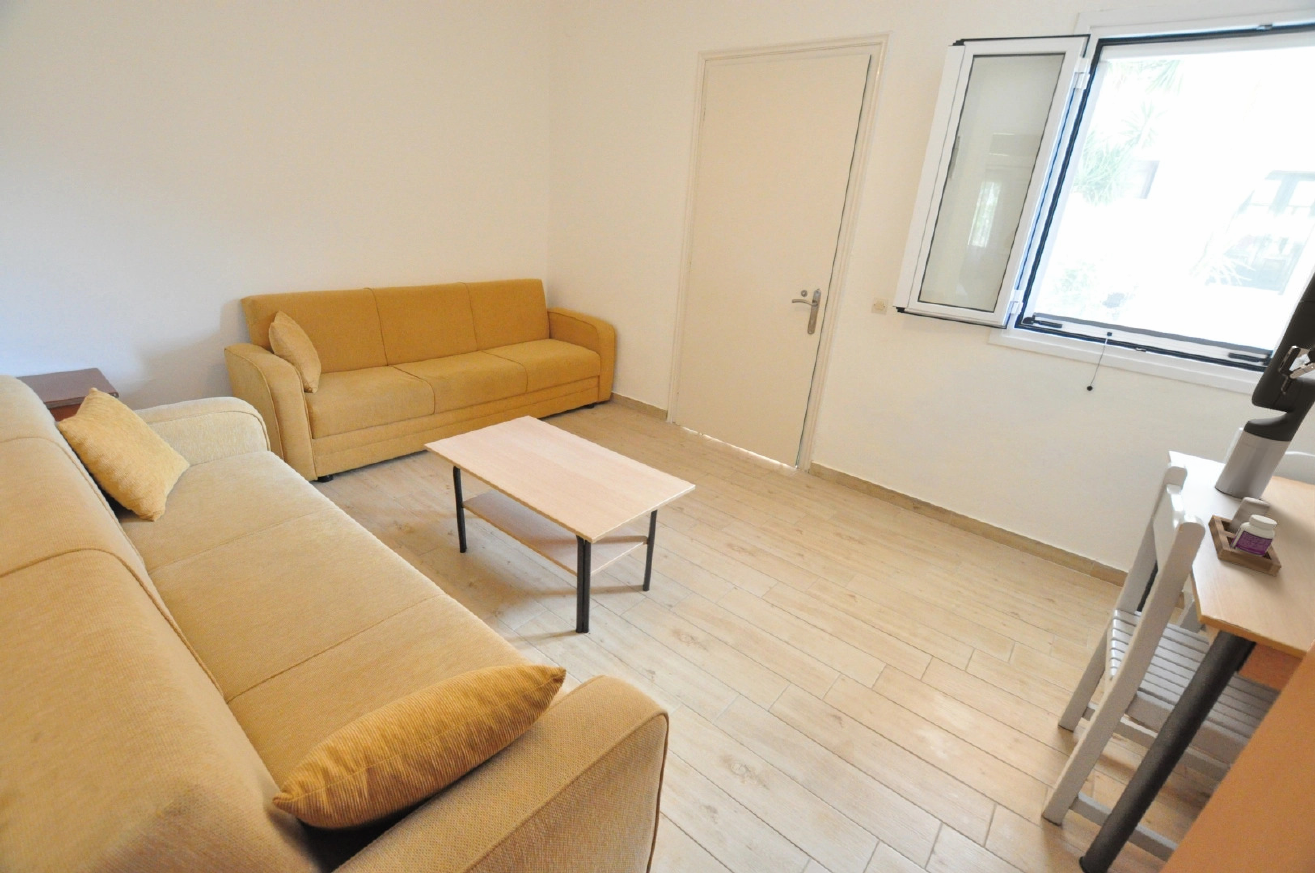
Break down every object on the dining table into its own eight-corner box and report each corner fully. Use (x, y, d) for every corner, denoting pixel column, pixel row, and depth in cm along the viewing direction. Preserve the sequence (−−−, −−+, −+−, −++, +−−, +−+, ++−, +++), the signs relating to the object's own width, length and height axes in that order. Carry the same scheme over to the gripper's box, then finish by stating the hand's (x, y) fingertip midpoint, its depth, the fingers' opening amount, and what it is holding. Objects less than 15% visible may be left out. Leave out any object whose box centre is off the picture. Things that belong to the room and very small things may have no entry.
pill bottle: (1266, 566, 120) (1289, 527, 117) (1238, 561, 121) (1259, 523, 118) (1247, 552, 125) (1269, 515, 122) (1220, 548, 126) (1240, 511, 123)
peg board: (1208, 523, 137) (1226, 487, 133) (1258, 537, 132) (1279, 500, 128) (1218, 558, 122) (1239, 518, 118) (1275, 576, 117) (1300, 535, 113)
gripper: (1398, 329, 116) (1355, 403, 122) (1300, 317, 123) (1264, 387, 130) (1412, 333, 110) (1366, 411, 116) (1308, 321, 118) (1271, 394, 124)
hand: (1313, 399), depth 123 cm, fingers open, 8 cm apart
